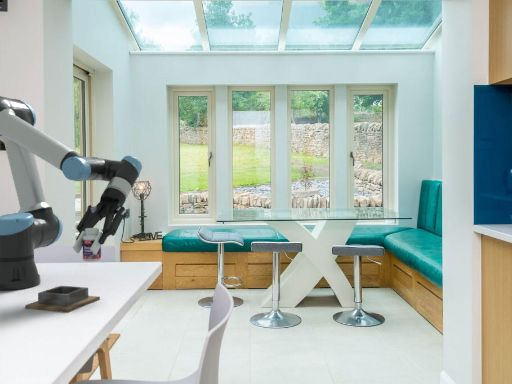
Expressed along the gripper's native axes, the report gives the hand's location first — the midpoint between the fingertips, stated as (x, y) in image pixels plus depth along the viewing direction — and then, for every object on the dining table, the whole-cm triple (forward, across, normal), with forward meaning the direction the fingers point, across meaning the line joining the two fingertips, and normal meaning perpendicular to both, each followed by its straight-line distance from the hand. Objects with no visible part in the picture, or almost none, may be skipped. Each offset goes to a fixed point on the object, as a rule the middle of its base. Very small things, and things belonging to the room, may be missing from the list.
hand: (84, 251), depth 149 cm
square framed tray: (+16, 0, -3) cm, 16 cm away
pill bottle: (0, 0, -5) cm, 5 cm away
